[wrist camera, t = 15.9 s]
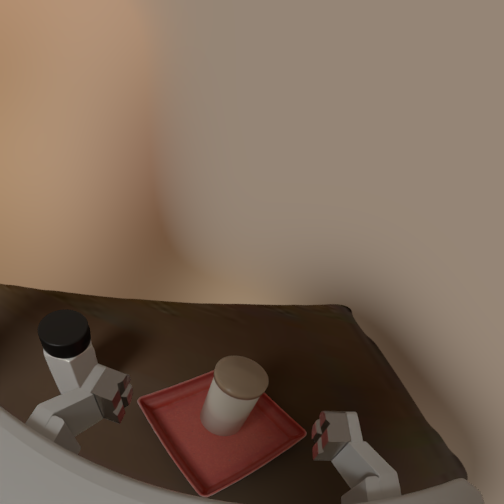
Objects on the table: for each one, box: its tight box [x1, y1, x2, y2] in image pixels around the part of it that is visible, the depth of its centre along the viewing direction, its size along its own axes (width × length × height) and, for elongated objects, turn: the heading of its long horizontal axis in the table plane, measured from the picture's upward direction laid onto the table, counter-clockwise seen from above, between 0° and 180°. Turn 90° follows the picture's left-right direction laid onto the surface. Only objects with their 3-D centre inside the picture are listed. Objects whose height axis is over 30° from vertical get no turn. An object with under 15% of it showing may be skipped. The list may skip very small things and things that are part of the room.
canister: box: [200, 356, 269, 436], centre depth 32 cm, size 6×6×10 cm
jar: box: [38, 310, 98, 394], centre depth 34 cm, size 9×8×12 cm
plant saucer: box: [137, 370, 307, 497], centre depth 34 cm, size 18×18×3 cm
